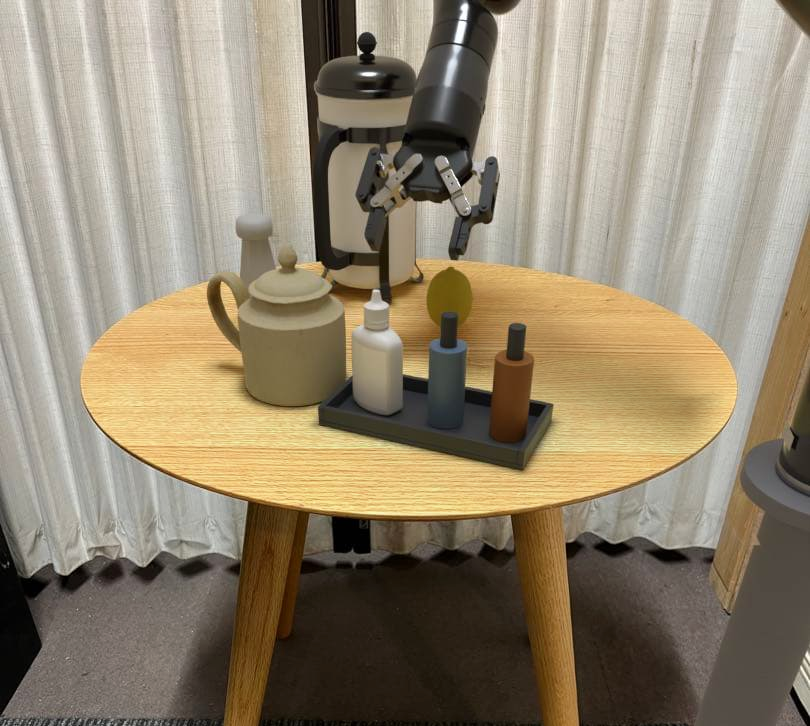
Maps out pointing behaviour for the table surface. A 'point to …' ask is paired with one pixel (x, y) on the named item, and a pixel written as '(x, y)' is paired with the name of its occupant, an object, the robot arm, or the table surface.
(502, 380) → the amber bottle
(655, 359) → the table surface
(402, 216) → the coffee press
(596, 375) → the table surface
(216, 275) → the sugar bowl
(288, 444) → the table surface
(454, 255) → the robot arm
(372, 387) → the eye dropper bottle
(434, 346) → the slate-blue bottle
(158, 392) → the table surface
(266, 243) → the salt shaker
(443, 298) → the lemon
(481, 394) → the tray
